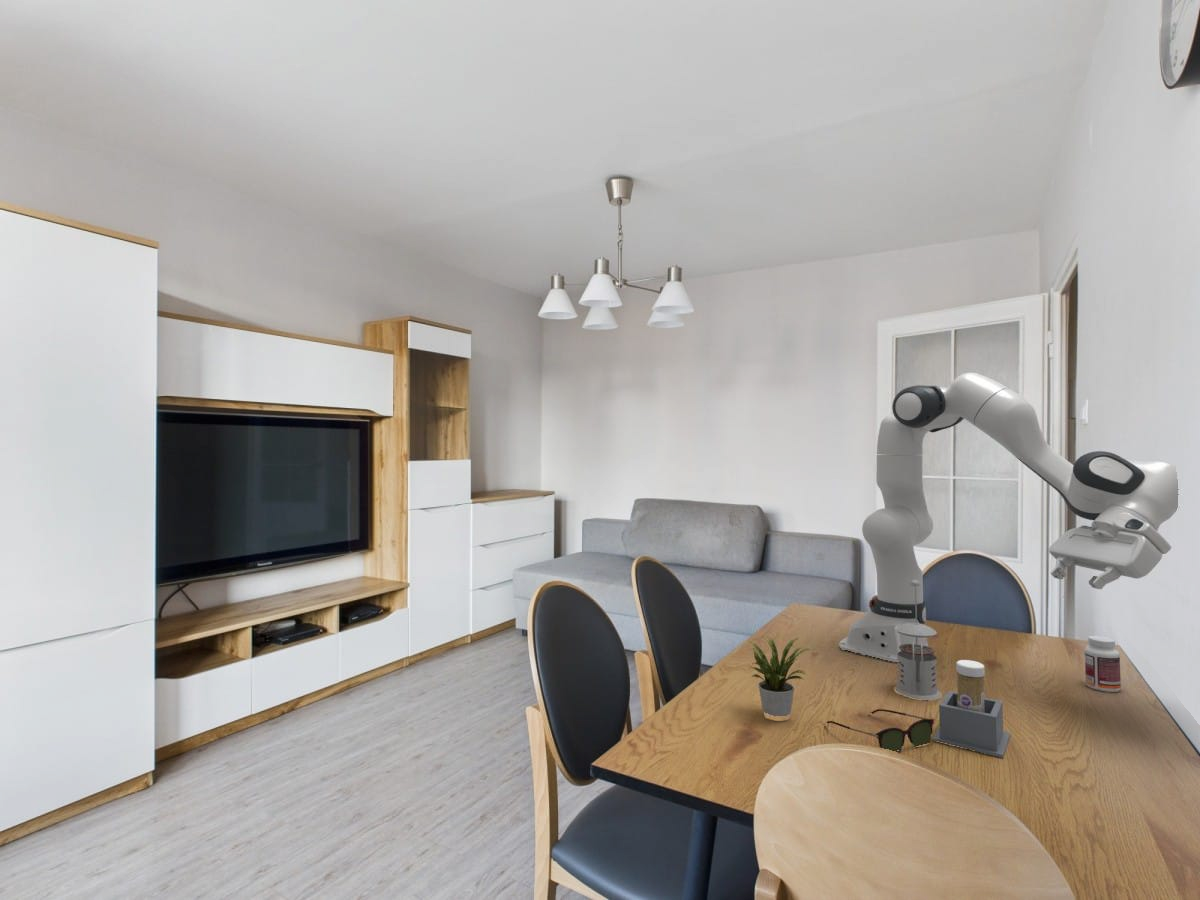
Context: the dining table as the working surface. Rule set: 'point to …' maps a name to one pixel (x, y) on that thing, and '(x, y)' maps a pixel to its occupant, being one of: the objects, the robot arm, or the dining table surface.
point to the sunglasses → (901, 733)
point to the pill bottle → (1102, 664)
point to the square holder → (972, 726)
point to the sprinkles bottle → (970, 685)
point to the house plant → (776, 679)
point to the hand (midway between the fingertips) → (1073, 581)
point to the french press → (917, 662)
